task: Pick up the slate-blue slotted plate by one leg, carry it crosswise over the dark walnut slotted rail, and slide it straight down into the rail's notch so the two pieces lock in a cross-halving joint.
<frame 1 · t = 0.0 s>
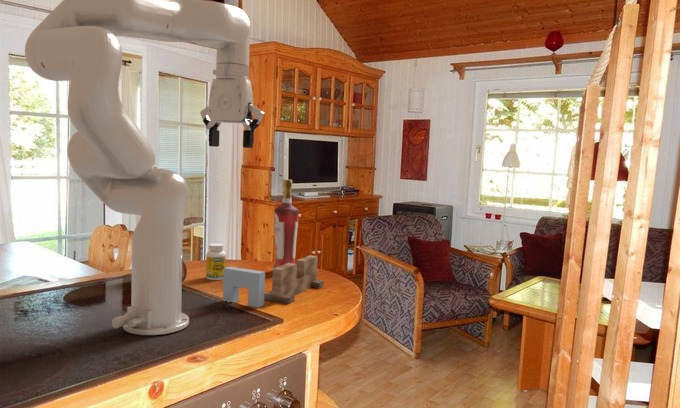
hand: (230, 147, 121), 37 cm above the kitchen counter, tool pointing down, fingers open, 9 cm apart
walnut slotted rail: (295, 292, 132), on the kitchen counter
tin: (160, 285, 134), on the kitchen counter
supplement bottle: (215, 278, 143), on the kitchen counter
blue slotted plate: (243, 303, 121), on the kitchen counter
liquor: (284, 272, 155), on the kitchen counter
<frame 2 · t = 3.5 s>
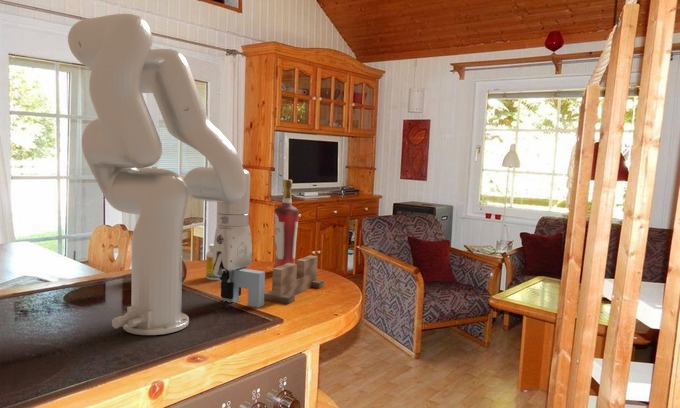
hand: (230, 295, 122), 1 cm above the kitchen counter, tool pointing down, fingers closed on blue slotted plate, 2 cm apart
blue slotted plate: (243, 303, 121), on the kitchen counter, touching gripper
everything else where it was.
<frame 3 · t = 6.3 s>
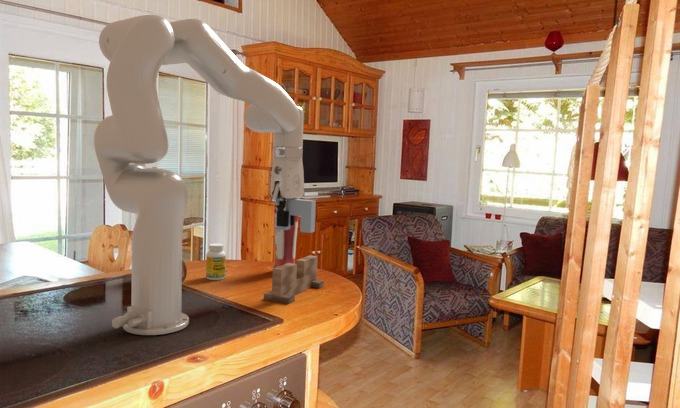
hand: (285, 224, 132), 17 cm above the kitchen counter, tool pointing down, fingers closed on blue slotted plate, 2 cm apart
blue slotted plate: (295, 230, 131), point 16 cm above the kitchen counter, touching gripper
everything else where it was.
when the fingers open (2 cm above the kitchen counter, at t = 9.2 s): blue slotted plate drops 1 cm, on the kitchen counter.
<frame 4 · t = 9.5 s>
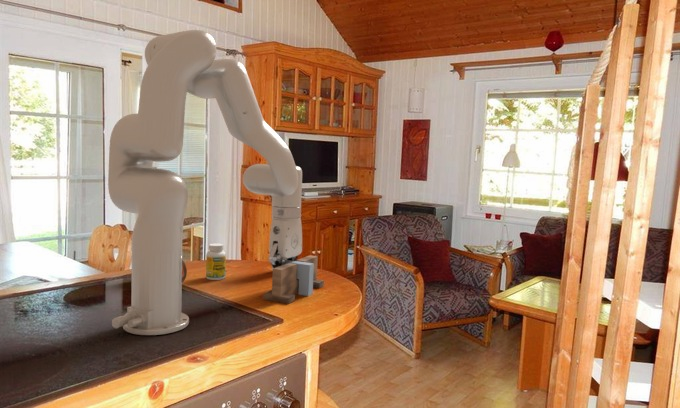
hand: (283, 281, 133), 2 cm above the kitchen counter, tool pointing down, fingers open, 4 cm apart
blue slotted plate: (293, 292, 132), on the kitchen counter
everything else where it was.
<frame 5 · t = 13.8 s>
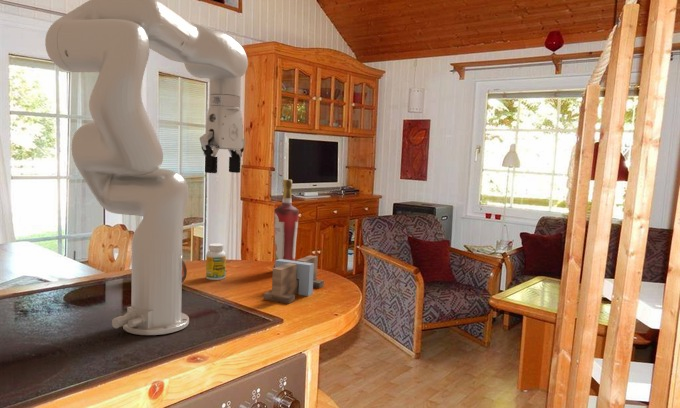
hand: (223, 172, 128), 30 cm above the kitchen counter, tool pointing down, fingers open, 9 cm apart
nothing on the kitchen counter moved.
at the end: blue slotted plate 0.6 cm off-centre on the walnut slotted rail, point 0.0 cm above the walnut slotted rail's base; blue slotted plate tilted 0°; the gripper is holding nothing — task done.
